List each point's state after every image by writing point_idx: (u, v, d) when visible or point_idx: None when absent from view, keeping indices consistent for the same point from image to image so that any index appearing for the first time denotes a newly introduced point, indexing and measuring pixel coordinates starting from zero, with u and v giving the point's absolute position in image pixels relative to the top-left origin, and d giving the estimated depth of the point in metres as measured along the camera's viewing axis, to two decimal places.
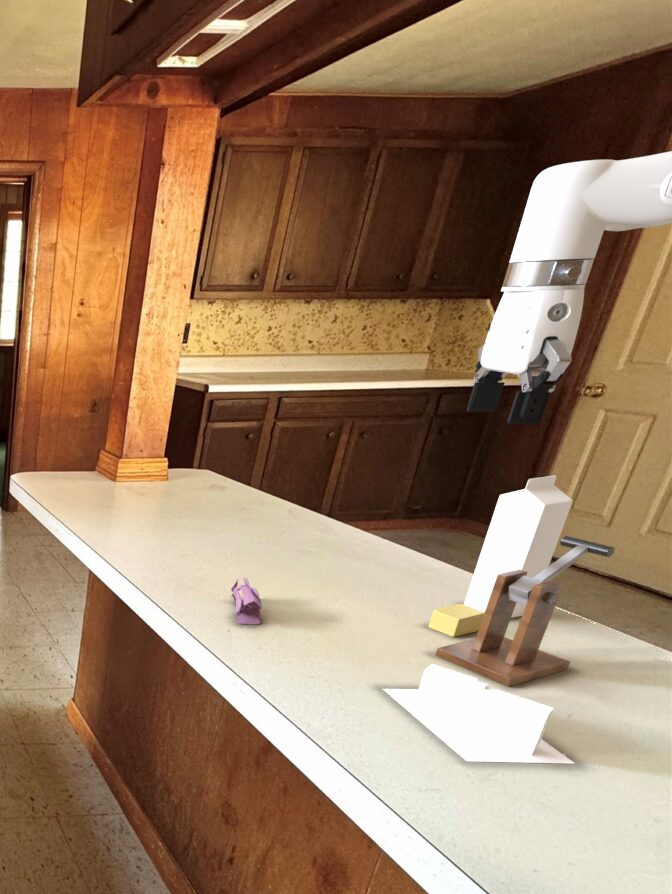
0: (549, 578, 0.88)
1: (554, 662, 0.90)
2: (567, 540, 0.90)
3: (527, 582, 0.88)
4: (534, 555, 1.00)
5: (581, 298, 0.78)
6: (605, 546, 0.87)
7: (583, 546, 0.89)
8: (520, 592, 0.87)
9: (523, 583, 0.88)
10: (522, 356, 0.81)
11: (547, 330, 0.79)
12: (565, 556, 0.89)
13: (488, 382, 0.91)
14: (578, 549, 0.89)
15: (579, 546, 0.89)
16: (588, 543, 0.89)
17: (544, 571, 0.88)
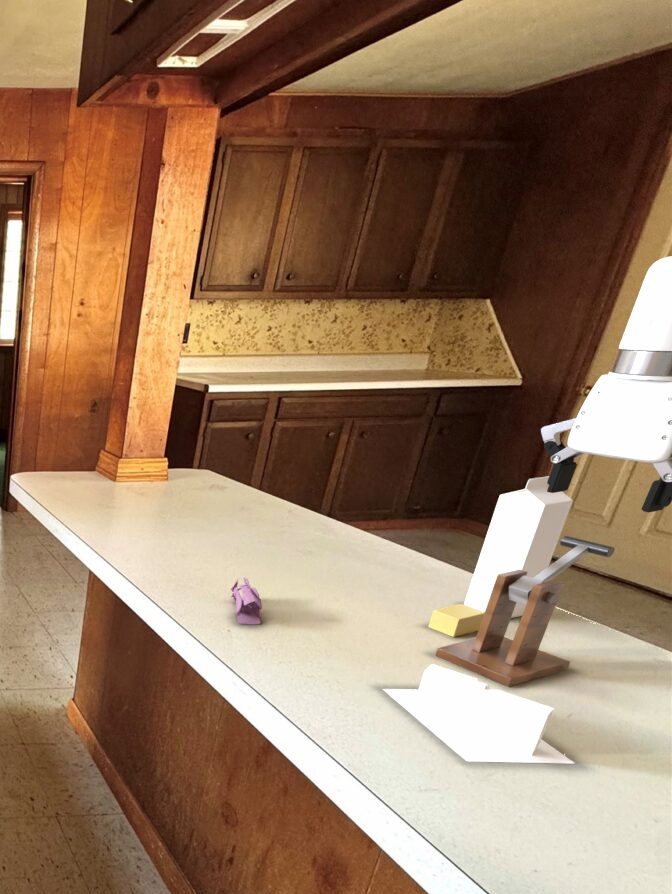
0: (549, 578, 0.88)
1: (554, 662, 0.90)
2: (567, 540, 0.90)
3: (527, 582, 0.88)
4: (534, 555, 1.00)
5: None
6: (605, 546, 0.87)
7: (583, 546, 0.89)
8: (520, 592, 0.87)
9: (523, 583, 0.88)
10: (664, 446, 0.79)
11: None
12: (565, 556, 0.89)
13: (567, 463, 0.89)
14: (578, 549, 0.89)
15: (579, 546, 0.89)
16: (588, 543, 0.89)
17: (544, 571, 0.88)
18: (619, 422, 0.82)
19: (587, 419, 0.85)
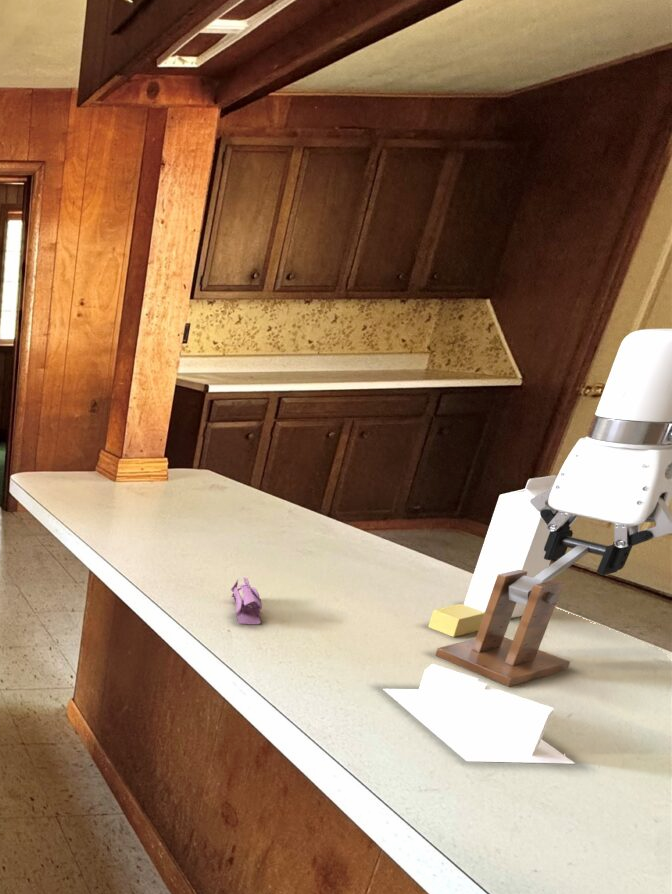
0: (549, 578, 0.88)
1: (554, 662, 0.90)
2: (567, 540, 0.90)
3: (527, 582, 0.88)
4: (534, 555, 1.00)
5: None
6: (605, 546, 0.87)
7: (583, 546, 0.89)
8: (520, 592, 0.87)
9: (523, 583, 0.88)
10: (640, 511, 0.82)
11: (663, 487, 0.81)
12: (565, 556, 0.89)
13: (563, 532, 0.91)
14: (578, 549, 0.89)
15: (579, 546, 0.89)
16: (588, 543, 0.89)
17: (544, 571, 0.88)
18: (596, 485, 0.85)
19: (566, 480, 0.88)
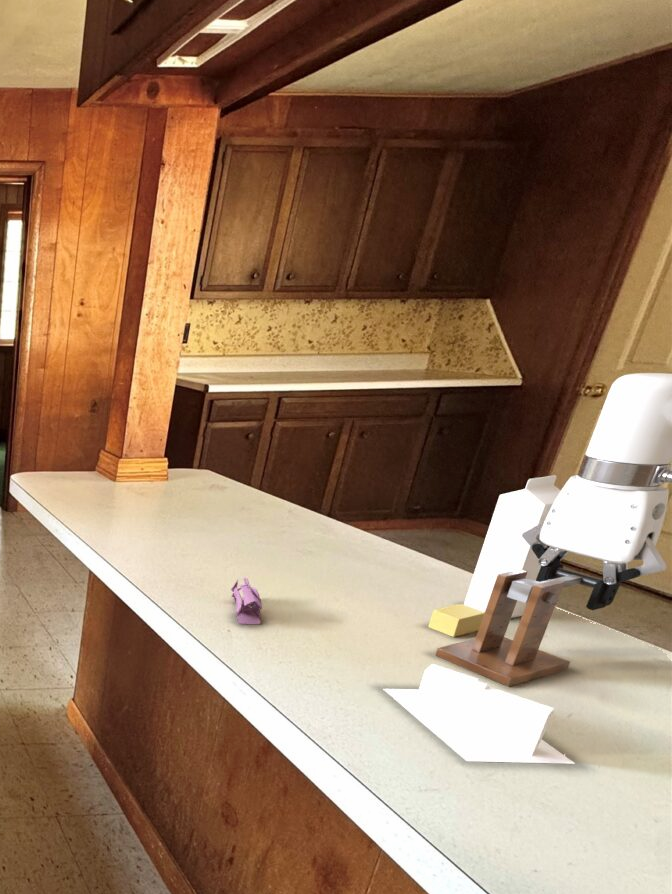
0: None
1: (554, 662, 0.90)
2: (561, 570, 0.93)
3: (530, 581, 0.88)
4: (534, 555, 1.00)
5: (667, 497, 0.83)
6: None
7: (576, 576, 0.91)
8: (523, 587, 0.87)
9: (526, 581, 0.88)
10: (628, 550, 0.84)
11: (650, 527, 0.83)
12: (561, 578, 0.90)
13: (554, 566, 0.93)
14: (573, 577, 0.91)
15: (573, 575, 0.91)
16: (582, 574, 0.91)
17: (543, 582, 0.89)
18: (586, 523, 0.88)
19: (557, 517, 0.91)
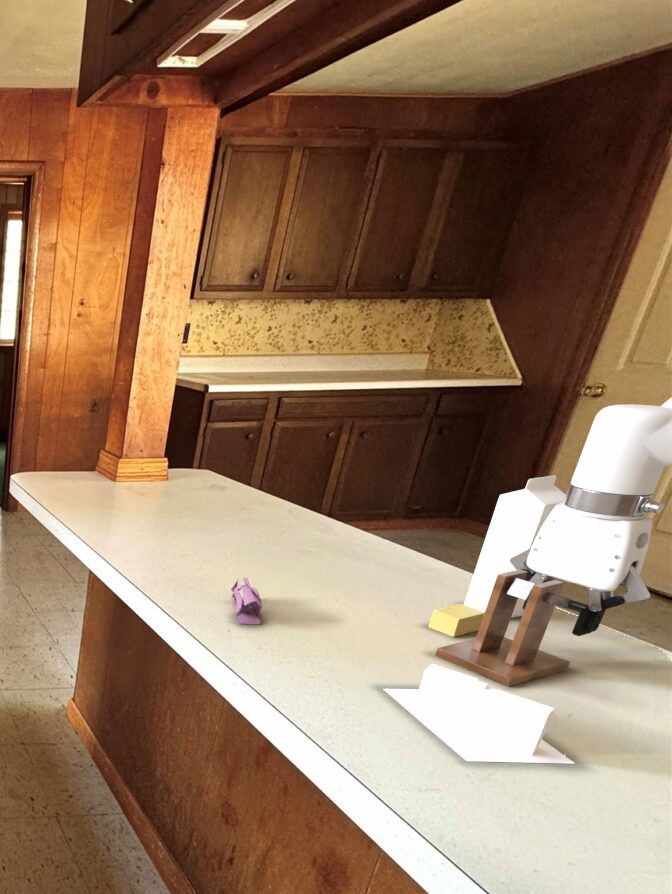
0: None
1: (554, 662, 0.90)
2: None
3: None
4: None
5: (651, 527, 0.84)
6: (586, 604, 0.91)
7: (565, 599, 0.92)
8: (526, 584, 0.87)
9: None
10: (612, 578, 0.86)
11: (634, 556, 0.84)
12: None
13: None
14: None
15: (562, 598, 0.92)
16: (570, 599, 0.92)
17: None
18: (572, 551, 0.89)
19: (543, 544, 0.92)
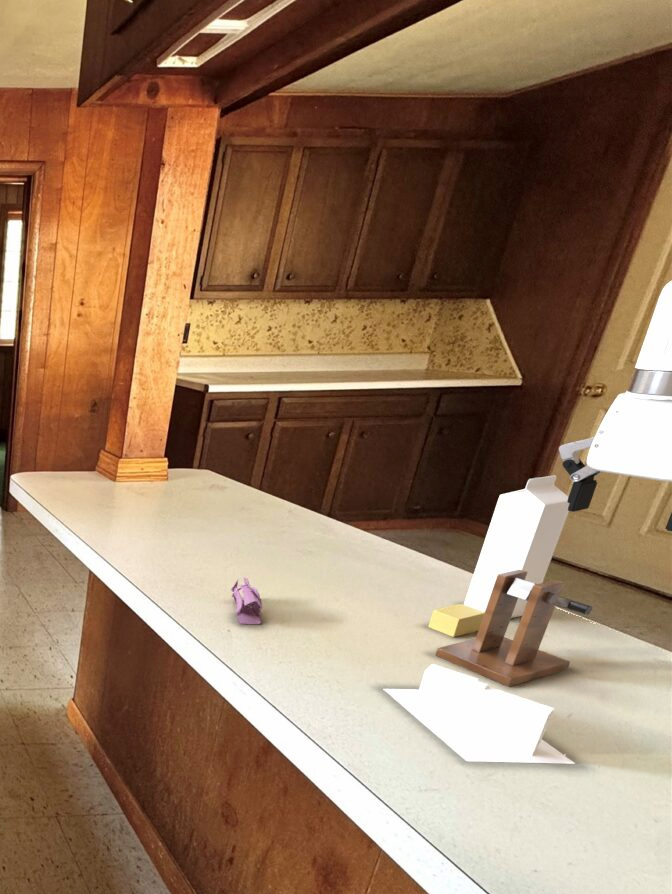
0: None
1: (554, 662, 0.90)
2: None
3: None
4: (534, 555, 1.00)
5: None
6: (586, 604, 0.91)
7: (565, 599, 0.92)
8: (526, 583, 0.87)
9: None
10: None
11: None
12: None
13: (587, 482, 0.89)
14: None
15: (562, 598, 0.92)
16: (570, 599, 0.92)
17: None
18: (639, 441, 0.82)
19: (606, 438, 0.85)
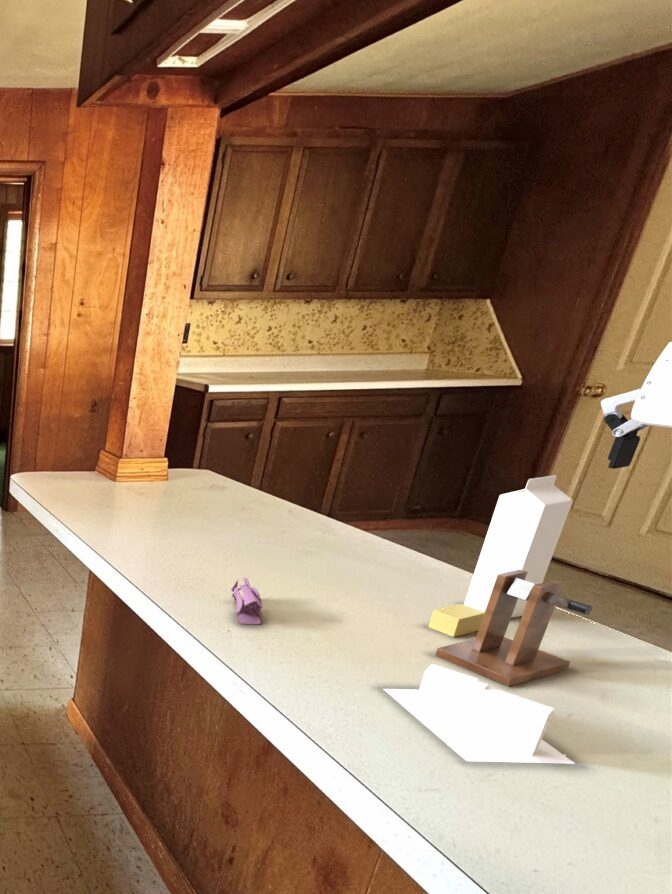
0: None
1: (554, 662, 0.90)
2: None
3: None
4: (534, 555, 1.00)
5: None
6: (586, 604, 0.91)
7: (565, 599, 0.92)
8: (526, 583, 0.87)
9: None
10: None
11: None
12: None
13: (631, 437, 0.85)
14: None
15: (562, 598, 0.92)
16: (570, 599, 0.92)
17: None
18: None
19: (654, 389, 0.81)
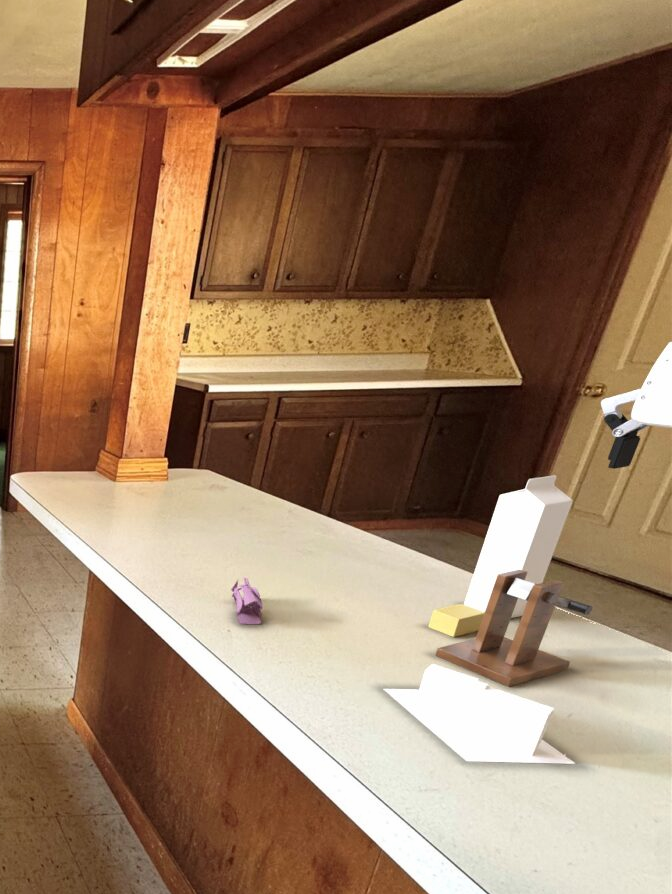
0: None
1: (554, 662, 0.90)
2: None
3: None
4: (534, 555, 1.00)
5: None
6: (586, 604, 0.91)
7: (565, 599, 0.92)
8: (526, 583, 0.87)
9: None
10: None
11: None
12: None
13: (631, 437, 0.85)
14: None
15: (562, 598, 0.92)
16: (570, 599, 0.92)
17: None
18: None
19: (654, 389, 0.81)
